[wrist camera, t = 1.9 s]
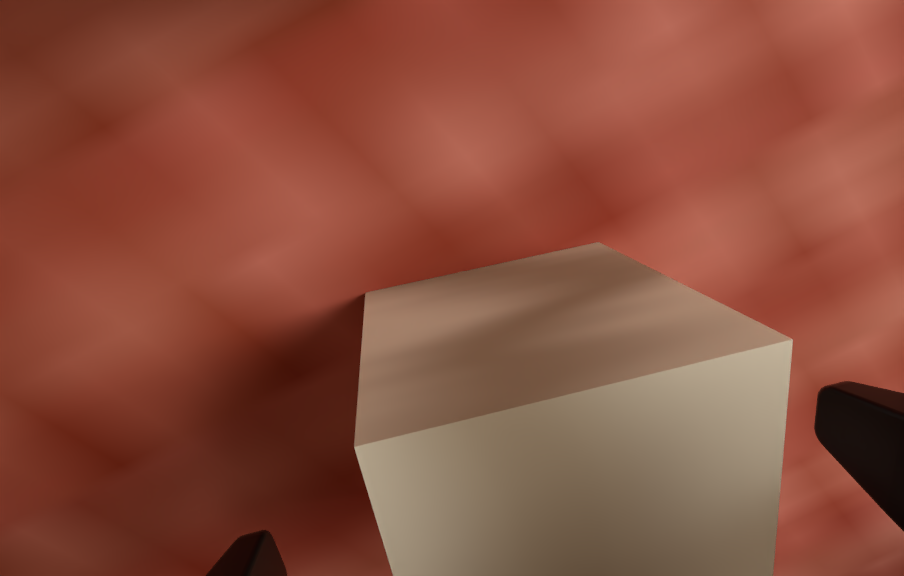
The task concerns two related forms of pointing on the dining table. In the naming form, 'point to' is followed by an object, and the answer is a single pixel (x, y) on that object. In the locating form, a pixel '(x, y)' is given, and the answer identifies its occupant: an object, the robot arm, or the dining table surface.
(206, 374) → the dining table surface
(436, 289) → the birch cube
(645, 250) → the dining table surface
